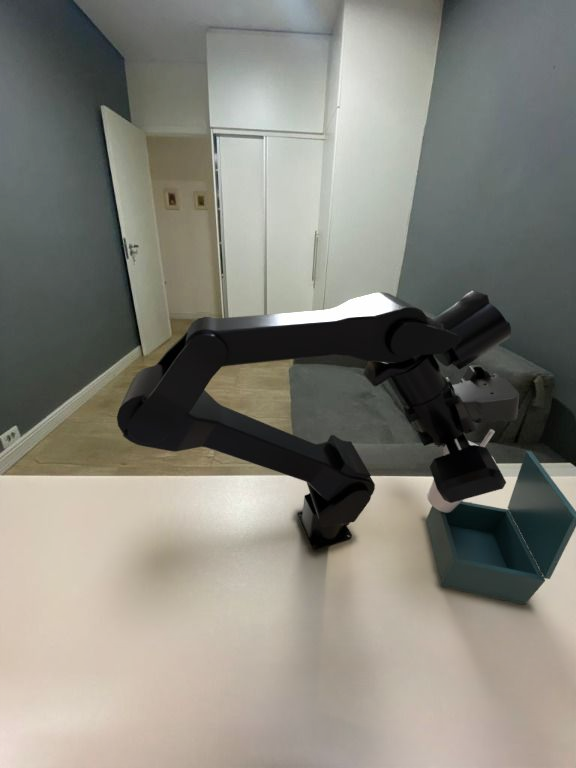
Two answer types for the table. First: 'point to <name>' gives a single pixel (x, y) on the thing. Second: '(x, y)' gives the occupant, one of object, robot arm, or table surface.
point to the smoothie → (433, 493)
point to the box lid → (541, 514)
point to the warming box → (483, 553)
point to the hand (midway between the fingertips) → (470, 473)
